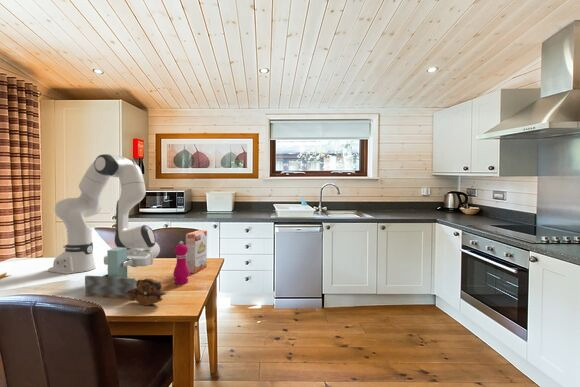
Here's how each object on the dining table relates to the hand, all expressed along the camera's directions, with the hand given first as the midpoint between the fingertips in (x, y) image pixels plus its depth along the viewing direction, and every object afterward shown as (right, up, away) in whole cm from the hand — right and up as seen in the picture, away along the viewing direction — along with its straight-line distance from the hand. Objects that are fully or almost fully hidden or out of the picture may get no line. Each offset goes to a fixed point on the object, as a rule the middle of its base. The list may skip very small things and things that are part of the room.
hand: (116, 264), depth 141 cm
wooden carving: (+18, -14, -11) cm, 25 cm away
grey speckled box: (0, -13, +5) cm, 14 cm away
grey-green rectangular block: (0, -9, +1) cm, 10 cm away
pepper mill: (+22, -13, +17) cm, 31 cm away
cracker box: (+23, -12, +39) cm, 47 cm away
